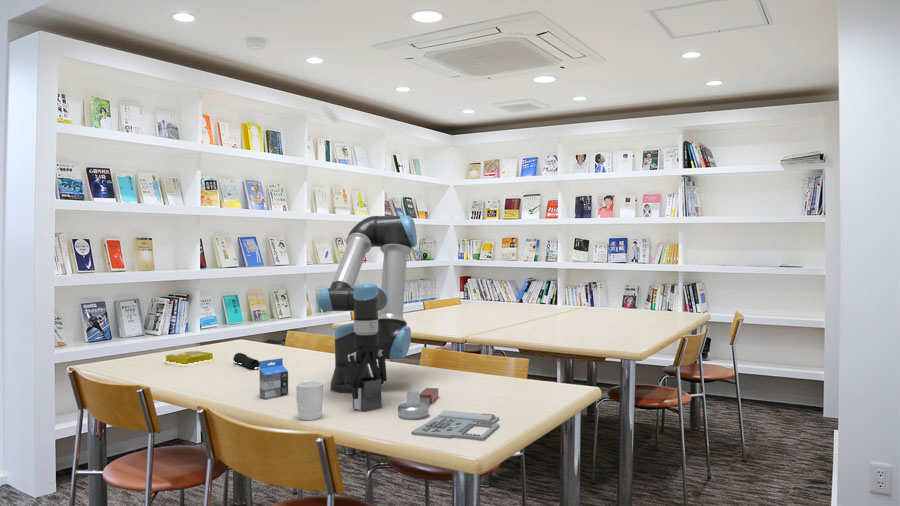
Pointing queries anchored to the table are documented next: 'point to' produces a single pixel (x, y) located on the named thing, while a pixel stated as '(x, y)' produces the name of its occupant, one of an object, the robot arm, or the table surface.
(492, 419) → the office telephone
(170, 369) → the table surface
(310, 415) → the white cup
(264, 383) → the label tape cartridge
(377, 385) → the dark grey storage bin
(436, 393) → the grey and red tool
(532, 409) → the table surface
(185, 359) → the element tile
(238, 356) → the flashlight
